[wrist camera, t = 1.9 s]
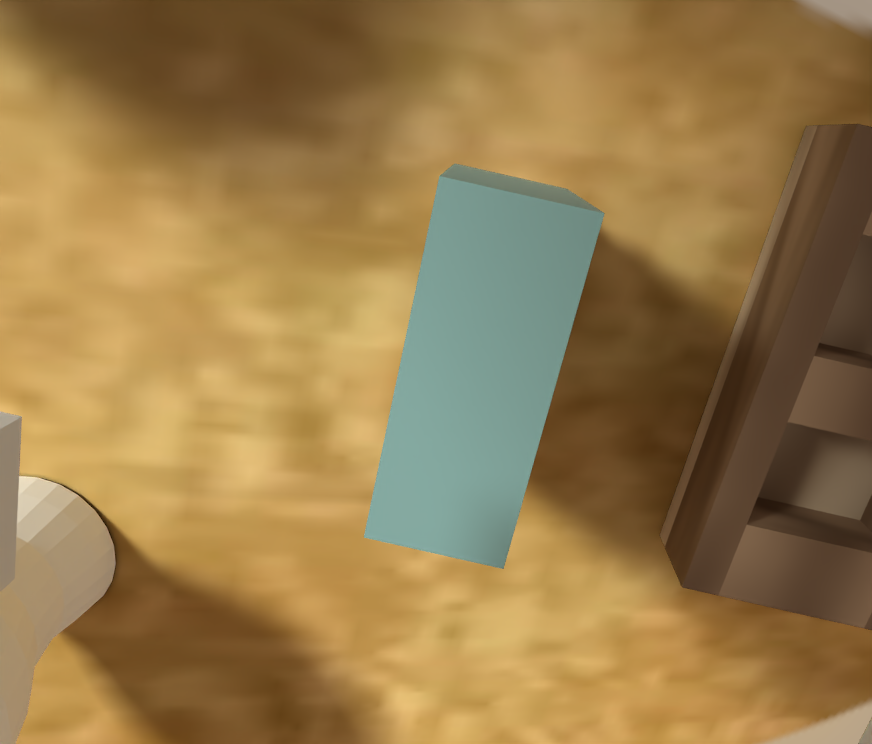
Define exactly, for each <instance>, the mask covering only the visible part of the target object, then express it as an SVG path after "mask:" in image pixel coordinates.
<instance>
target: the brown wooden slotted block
mask: <svg viewBox="0 0 872 744" xmlns="http://www.w3.org/2000/svg"><path fill="white" fill-rule="evenodd" d="M660 538H661V540H662V542H663V544H664V547H665V549H666V551H667V554H668V556H669V558H670V561H671V563H672V565H673V568H674V570H675V572H676V575H677V577H678V579H679V582H680V584H681V586H682V587H683V588H688V589H692V590H696V591H701V592H705V593H710V594H714V595H719V596H723V597H727V598H732V599H736V600H741V601H745V602H750V603H754V604H758V605H763V606H767V607H772V608H776V609H781V610H785V611H789V612H794V613H798V614H803V615H807V616H812V617H816V618H820V619H825V620H829V621H834V622H838V623H843V624H847V625H851V626H856V627H860V628H865V629H869V630H872V127H869V126H864V125H860V124H842V125H813V126H806V128H805V131H804V134H803V136H802V139H801V142H800V145H799V148H798V150H797V153H796V156H795V159H794V161H793V164H792V167H791V170H790V173H789V175H788V178H787V181H786V184H785V187H784V189H783V192H782V195H781V198H780V201H779V203H778V206H777V209H776V212H775V215H774V217H773V220H772V223H771V226H770V229H769V231H768V234H767V237H766V240H765V242H764V245H763V248H762V251H761V254H760V256H759V259H758V262H757V265H756V268H755V270H754V273H753V276H752V279H751V282H750V284H749V287H748V290H747V293H746V296H745V298H744V301H743V304H742V307H741V310H740V312H739V315H738V318H737V321H736V323H735V326H734V329H733V332H732V335H731V337H730V340H729V343H728V346H727V349H726V351H725V354H724V357H723V360H722V363H721V365H720V368H719V371H718V374H717V377H716V379H715V382H714V385H713V388H712V391H711V393H710V396H709V399H708V402H707V404H706V407H705V410H704V413H703V416H702V418H701V421H700V424H699V427H698V430H697V432H696V435H695V438H694V441H693V444H692V446H691V449H690V452H689V455H688V458H687V460H686V463H685V466H684V469H683V472H682V474H681V477H680V480H679V483H678V485H677V488H676V491H675V494H674V497H673V499H672V502H671V505H670V508H669V511H668V513H667V516H666V519H665V522H664V525H663V527H662V530H661V533H660Z"/></svg>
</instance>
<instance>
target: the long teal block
mask: <svg viewBox="0 0 872 744" xmlns="http://www.w3.org/2000/svg"><path fill="white" fill-rule="evenodd" d="M603 217H604V213H603V212H602V211H600V210H599V209H597V208H595V207H594V206H592V205H591V204H589V203H588V202H586V201H585V200H583V199H582V198H580V197H579V196H577V195H576V194H574V193H572V192H571V191H569V190H568V189H565V188H561V187H556V186H552V185H547V184H543V183H538V182H534V181H530V180H525V179H521V178H516V177H512V176H508V175H503V174H499V173H494V172H490V171H486V170H481V169H477V168H472V167H468V166H463V165H459V164H454V165H452V166H451V167H450V168H449V169H448V170H446V171H445V172H444V173H443V174H441V175H440V176H439V181H438V186H437V191H436V195H435V200H434V205H433V210H432V215H431V219H430V224H429V229H428V234H427V238H426V243H425V248H424V253H423V258H422V262H421V267H420V272H419V277H418V281H417V286H416V291H415V296H414V301H413V305H412V310H411V315H410V320H409V324H408V329H407V334H406V339H405V344H404V348H403V353H402V358H401V363H400V367H399V372H398V377H397V382H396V386H395V391H394V396H393V401H392V406H391V410H390V415H389V420H388V425H387V429H386V434H385V439H384V444H383V449H382V453H381V458H380V463H379V468H378V472H377V477H376V482H375V487H374V492H373V496H372V501H371V506H370V511H369V515H368V520H367V525H366V530H365V535H364V538H369V539H373V540H378V541H382V542H387V543H391V544H395V545H400V546H404V547H409V548H413V549H418V550H422V551H426V552H431V553H435V554H440V555H444V556H449V557H453V558H458V559H462V560H466V561H471V562H475V563H480V564H484V565H489V566H493V567H497V568H502V569H504V565H505V562H506V558H507V554H508V551H509V547H510V544H511V540H512V537H513V533H514V530H515V526H516V523H517V519H518V516H519V512H520V509H521V505H522V502H523V498H524V495H525V491H526V488H527V484H528V481H529V477H530V474H531V470H532V467H533V463H534V459H535V456H536V452H537V449H538V445H539V442H540V438H541V435H542V431H543V428H544V424H545V421H546V417H547V414H548V410H549V407H550V403H551V400H552V396H553V393H554V389H555V386H556V382H557V379H558V375H559V371H560V368H561V364H562V361H563V357H564V354H565V350H566V347H567V343H568V340H569V336H570V333H571V329H572V326H573V322H574V319H575V315H576V312H577V308H578V305H579V301H580V298H581V294H582V291H583V287H584V284H585V280H586V276H587V273H588V269H589V266H590V262H591V259H592V255H593V252H594V248H595V245H596V241H597V238H598V234H599V231H600V227H601V224H602V220H603Z"/></svg>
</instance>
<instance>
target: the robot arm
mask: <svg viewBox="0 0 872 744" xmlns="http://www.w3.org/2000/svg"><path fill="white" fill-rule="evenodd" d="M21 421H22V417H21V416H17V415H13V414H8V413H4V412H0V592H1V591H2V590H3V589H4V588H5V587H6V586H7V585H9V584H10V583H11V582H12V581H13V580H14V579H15V558H16V535H17V512H18V490H19V467H20V444H21ZM858 744H872V718H871V720H870V722H869V724H868V726H867V728H866V729H865V732H864V733H863V735H862V737H861V739H860V741H859V743H858Z"/></svg>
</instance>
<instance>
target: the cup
mask: <svg viewBox="0 0 872 744" xmlns="http://www.w3.org/2000/svg"><path fill="white" fill-rule="evenodd" d="M115 565H116V562H115V551H114V545H113V542H112V539H111V537H110V534H109V532H108V529H107V527H106V525H105V524H104V523H103V521H102V520H101V518H100V517H99V515H98V514H97V513H96V511H95V510H94V509H93V508H92V507H91V506H90V505H89V504H87V503H86V502H85V501H84V500H83V499H82V498H81V497H80V496H79V495H77V494H75V493H74V492H72V491H70V490H68V489H67V488H65V487H63V486H61V485H60V484H57V483H54V482H51V481H48V480H44V479H41V478H38V477H25V476H19V490H18V512H17V535H16V558H15V579H14V580H13V581H12V582H11V583H10V584H9V585H7V586H6V587H5V588H4V589H3V590H2V591H1V592H0V744H15V743H16V741H17V738H18V736H19V733H20V731H21V728H22V725H23V723H24V720H25V718H26V715H27V712H28V706H29V700H30V695H31V689H32V682H33V675H34V668H35V665H36V664H37V662H38V661H39V659H40V658H41V656H42V654H43V653H44V651H45V650H46V648H47V646H48V645H49V643H50V642H51V640H52V639H53V638H54V637H55V636H56V635H58V634H59V633H60V632H61V631H63V630H64V629H65V628H67V627H68V626H69V625H70V624H72V623H73V622H74V621H75V620H77V619H78V618H79V617H80V616H81V615H82V614H83V613H85V612H86V611H87V610H88V609H89V608H90V607H91V606H92V605H94V604H95V603H96V602H97V601H98V600H99V599H100V598H101V597H102V596H104V594H105V592H106V591H107V589H108V587H109V586H110V584H111V582H112V580H113V575H114V570H115Z"/></svg>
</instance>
